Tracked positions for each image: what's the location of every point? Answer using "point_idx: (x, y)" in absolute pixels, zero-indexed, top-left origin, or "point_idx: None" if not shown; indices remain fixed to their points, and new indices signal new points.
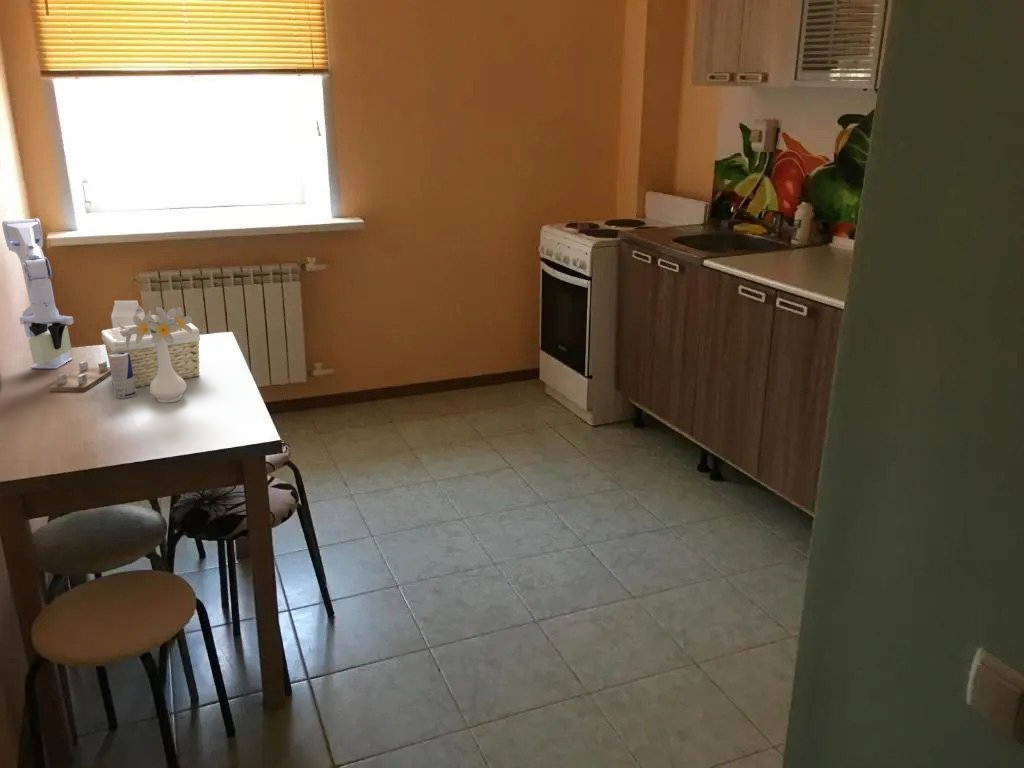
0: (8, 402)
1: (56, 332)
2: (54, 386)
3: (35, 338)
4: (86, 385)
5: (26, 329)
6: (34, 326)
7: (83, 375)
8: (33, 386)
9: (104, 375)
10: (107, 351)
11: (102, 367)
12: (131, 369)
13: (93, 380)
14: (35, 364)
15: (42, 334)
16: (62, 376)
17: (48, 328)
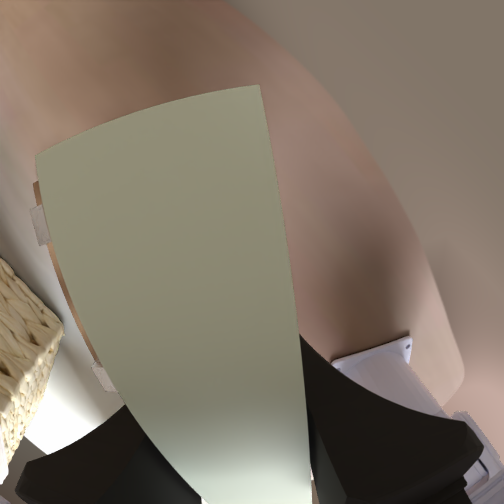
0: (231, 6)
1: (64, 448)
2: None
3: (163, 199)
4: (38, 203)
5: (477, 430)
6: (415, 500)
7: (34, 226)
8: (278, 170)
9: (77, 321)
10: (10, 373)
11: (98, 358)
12: None
13: (56, 259)
14: (408, 357)
15: (262, 431)
16: None
17: (87, 500)
